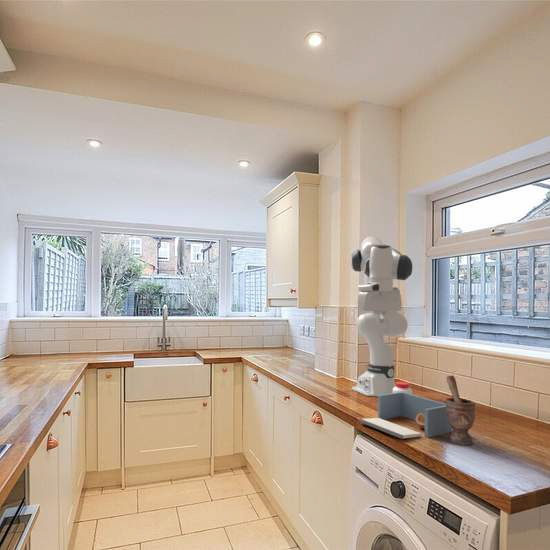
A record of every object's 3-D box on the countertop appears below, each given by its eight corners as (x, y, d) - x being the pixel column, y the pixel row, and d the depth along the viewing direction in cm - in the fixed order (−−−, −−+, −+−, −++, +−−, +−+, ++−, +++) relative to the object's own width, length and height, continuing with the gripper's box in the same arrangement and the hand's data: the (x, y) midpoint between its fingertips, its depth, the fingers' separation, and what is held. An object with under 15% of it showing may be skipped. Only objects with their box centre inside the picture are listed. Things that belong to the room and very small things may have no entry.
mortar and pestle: (433, 435, 133) (433, 375, 134) (452, 432, 136) (452, 374, 138) (460, 447, 122) (460, 382, 124) (481, 444, 126) (480, 381, 127)
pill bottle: (413, 409, 165) (413, 382, 166) (409, 413, 158) (409, 386, 159) (395, 406, 169) (395, 380, 170) (390, 410, 162) (390, 383, 163)
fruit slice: (443, 432, 136) (443, 417, 137) (428, 434, 134) (428, 419, 134) (425, 425, 144) (425, 411, 145) (411, 426, 142) (411, 412, 142)
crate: (377, 419, 150) (377, 395, 150) (401, 414, 157) (401, 391, 157) (427, 437, 131) (427, 410, 131) (452, 431, 137) (452, 405, 138)
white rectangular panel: (378, 420, 148) (359, 421, 143) (378, 417, 148) (359, 419, 143) (421, 436, 131) (401, 438, 127) (421, 433, 131) (401, 435, 127)
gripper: (393, 287, 158) (392, 321, 158) (355, 286, 148) (354, 323, 147) (406, 287, 153) (405, 323, 152) (367, 286, 142) (366, 324, 142)
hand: (380, 323), depth 150 cm, fingers closed
